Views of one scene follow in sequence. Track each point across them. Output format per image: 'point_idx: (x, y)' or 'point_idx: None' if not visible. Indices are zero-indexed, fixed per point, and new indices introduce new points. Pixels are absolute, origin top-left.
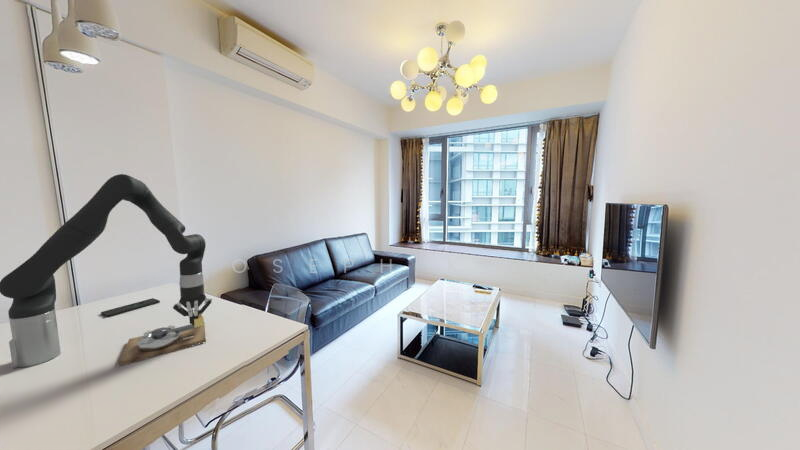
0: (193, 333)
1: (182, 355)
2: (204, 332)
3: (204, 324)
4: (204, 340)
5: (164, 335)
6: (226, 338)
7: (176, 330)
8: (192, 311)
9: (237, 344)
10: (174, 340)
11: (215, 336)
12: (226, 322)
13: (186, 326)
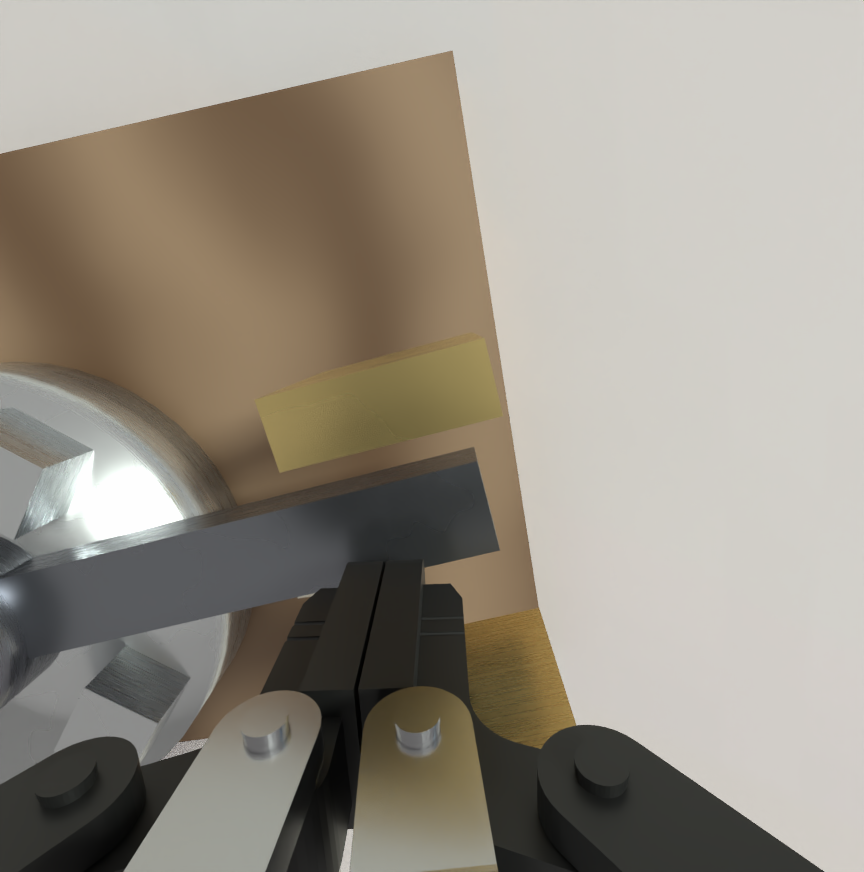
0: (378, 466)
1: None
2: (514, 502)
3: (473, 193)
4: None
5: (42, 670)
6: (747, 664)
7: (154, 626)
8: (279, 835)
9: (842, 834)
10: (218, 680)
11: (630, 559)
12: (767, 142)
13: (267, 563)
